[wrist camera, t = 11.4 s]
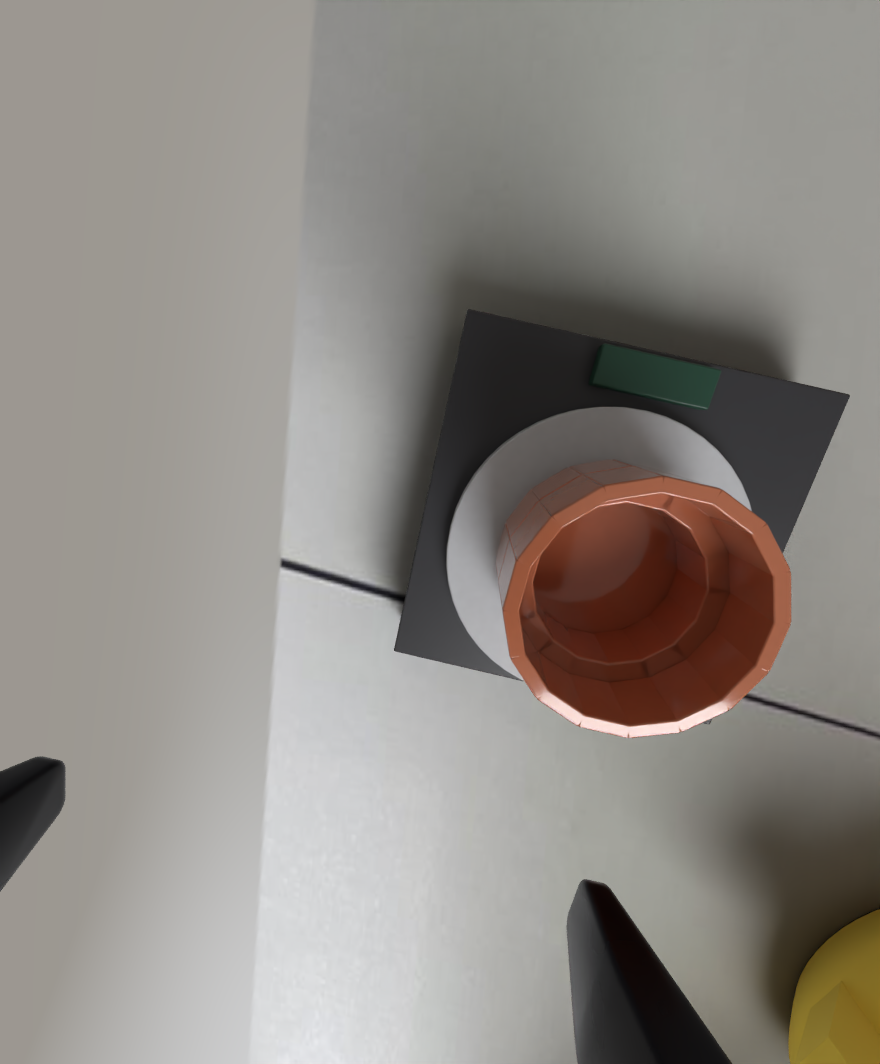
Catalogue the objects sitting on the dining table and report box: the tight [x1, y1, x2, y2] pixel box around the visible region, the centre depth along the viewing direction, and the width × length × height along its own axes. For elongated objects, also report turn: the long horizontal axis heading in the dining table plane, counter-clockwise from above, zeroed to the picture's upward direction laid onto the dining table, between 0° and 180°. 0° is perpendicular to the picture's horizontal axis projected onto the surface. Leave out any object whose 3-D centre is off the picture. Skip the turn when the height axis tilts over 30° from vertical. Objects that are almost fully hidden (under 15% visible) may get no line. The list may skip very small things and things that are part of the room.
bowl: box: [495, 459, 791, 738], centre depth 13 cm, size 7×7×4 cm
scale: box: [394, 309, 850, 724], centre depth 17 cm, size 12×12×3 cm
